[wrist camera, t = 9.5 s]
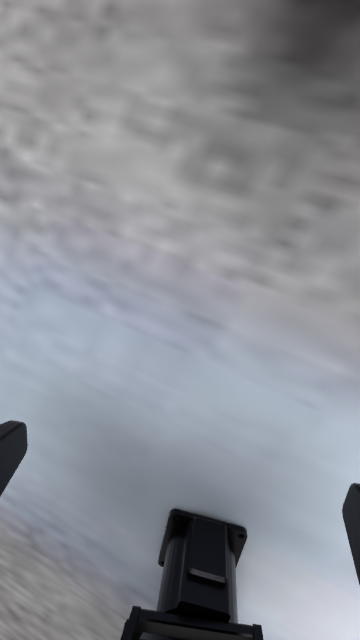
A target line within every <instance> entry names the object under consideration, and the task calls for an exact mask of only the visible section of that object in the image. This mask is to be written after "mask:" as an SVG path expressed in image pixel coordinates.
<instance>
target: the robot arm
mask: <svg viewBox="0 0 360 640" xmlns="http://www.w3.org/2000/svg"><path fill="white" fill-rule="evenodd" d="M27 446H28V444H27V428H26V424H25V423H23V422H18V421H8V422H5V423H3V424H1V425H0V496H1V495H2V493H3V491H4V489H5V488H6V486H7V484H8V483H9V481H10V479H11V478H12V476H13V474H14V473H15V471H16V469H17V468H18V466H19V464H20V463H21V461H22V459H23V457H24V456H25V454H26V451H27ZM342 513H343V519H344V523H345V527H346V531H347V536H348V540H349V544H350V548H351V552H352V556H353V560H354V564H355V568H356V573H357V576H358V580H359V584H360V484H357V483H353V484H351V486H350V488H349V490H348V493H347V496H346V499H345V501H344V504H343V509H342ZM246 539H247V531H246V529H245V528H243V527H240V526H236V525H232V524H229V523H225V522H221V521H218V520H214V519H210V518H206V517H203V516H199V515H195V514H192V513H188V512H184V511H180V510H176V509H174V510H171V512H170V515H169V519H168V523H167V527H166V531H165V535H164V539H163V543H162V547H161V551H160V555H159V560H158V564H159V565H160V566H162V567H164V569H163V575H162V581H161V587H160V593H159V599H158V605H157V611H153V610H147V609H141V607H139V606H133V608H132V611H131V614H130V617H129V619H127V621H126V622H125V625H124V630H123V633H122V636H121V640H263V634H262V627H261V625H257V624H253V626H251V625H245V624H238V617H237V594H236V571H235V569H236V566H237V563H238V561H239V558H240V555H241V553H242V550H243V547H244V545H245V542H246Z"/></svg>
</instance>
